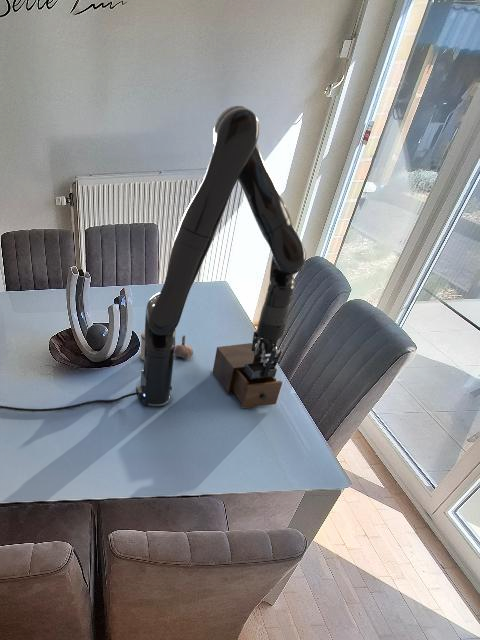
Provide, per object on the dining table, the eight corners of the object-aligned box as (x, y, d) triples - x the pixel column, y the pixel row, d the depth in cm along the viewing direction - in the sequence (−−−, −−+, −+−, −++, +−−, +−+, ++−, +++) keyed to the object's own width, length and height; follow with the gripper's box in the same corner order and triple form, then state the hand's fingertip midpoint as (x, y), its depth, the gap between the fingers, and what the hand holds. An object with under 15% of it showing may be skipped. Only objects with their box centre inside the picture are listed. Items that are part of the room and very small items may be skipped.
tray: (250, 379, 142) (252, 372, 140) (243, 370, 146) (245, 363, 144) (274, 376, 143) (277, 369, 141) (267, 367, 146) (269, 360, 145)
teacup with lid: (145, 365, 168) (146, 334, 160) (136, 353, 174) (137, 323, 166) (175, 359, 171) (178, 329, 162) (165, 348, 177) (168, 318, 168)
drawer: (277, 406, 147) (284, 384, 141) (244, 410, 145) (249, 388, 140) (258, 382, 157) (263, 361, 151) (226, 386, 155) (231, 365, 150)
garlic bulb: (169, 353, 174) (171, 333, 168) (186, 350, 175) (189, 329, 170) (177, 362, 169) (180, 341, 163) (195, 359, 170) (198, 338, 165)
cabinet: (263, 389, 155) (270, 363, 148) (228, 394, 154) (233, 367, 147) (245, 368, 165) (251, 342, 158) (212, 372, 164) (216, 346, 157)
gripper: (250, 309, 136) (239, 362, 148) (272, 330, 126) (258, 385, 138) (274, 307, 137) (260, 359, 149) (297, 328, 127) (281, 382, 139)
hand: (259, 371), depth 144 cm, fingers closed on tray, 5 cm apart
